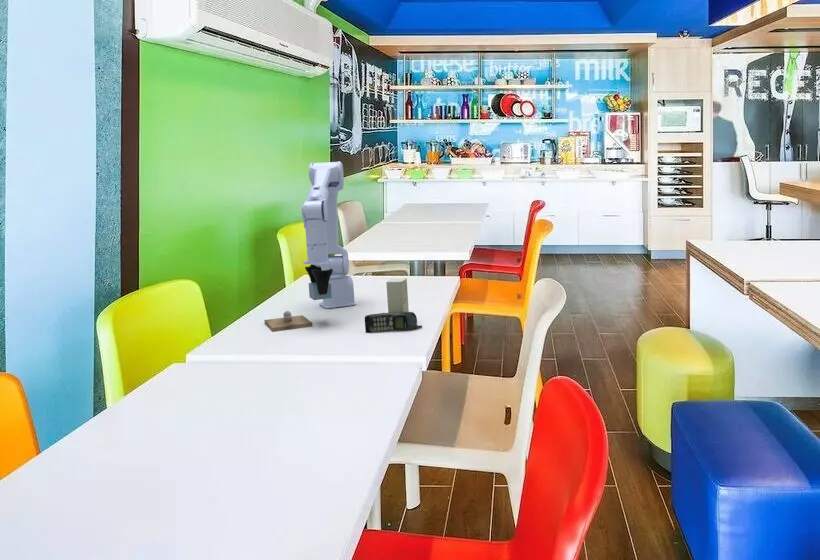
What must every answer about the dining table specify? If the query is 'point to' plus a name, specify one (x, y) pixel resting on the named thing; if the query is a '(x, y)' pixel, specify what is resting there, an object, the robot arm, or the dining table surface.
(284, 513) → the dining table surface
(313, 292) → the slate blue cube
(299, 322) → the board
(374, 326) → the mobile phone
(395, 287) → the skincare box
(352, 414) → the dining table surface
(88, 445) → the dining table surface
